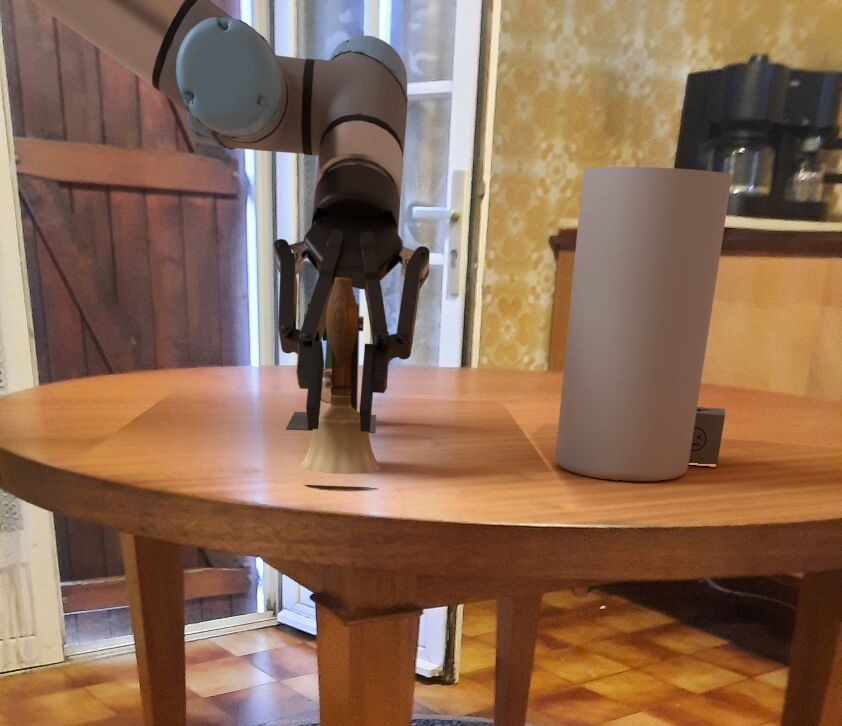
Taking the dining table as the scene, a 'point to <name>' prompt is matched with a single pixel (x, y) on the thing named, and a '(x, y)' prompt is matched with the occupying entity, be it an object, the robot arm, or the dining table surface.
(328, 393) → the lever
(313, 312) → the robot arm
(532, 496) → the dining table surface
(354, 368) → the bracket
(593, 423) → the cylinder vase
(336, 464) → the hand bell
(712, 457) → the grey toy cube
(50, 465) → the dining table surface
